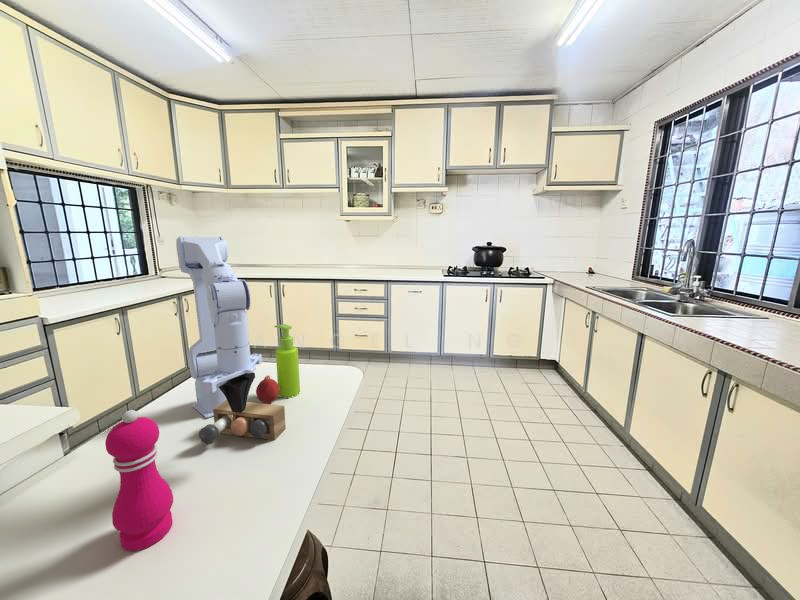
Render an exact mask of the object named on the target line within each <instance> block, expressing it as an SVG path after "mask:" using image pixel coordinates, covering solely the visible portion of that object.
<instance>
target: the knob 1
mask: <svg viewBox="0 0 800 600" xmlns="http://www.w3.org/2000/svg"><path fill="white" fill-rule="evenodd" d="M230 424H231V419H230V417H228V416H223V417H222V418H221V419H219V420H218V421H217V422H215V423H213V424H212V423H211V424H210V423H209V424H207V425H205V426H204V427H202V428H201V429H200V430H199V432H198V437H199V440H200V441H201V442H202V443H203V444H206V445H210V444H212V443H213V442H215V441H216V440H217V439H219V436H220V434H221V433H220V432H221V431H223V430H224V429H225V428H227V427H228V426H229V425H230Z"/></svg>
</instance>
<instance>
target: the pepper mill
mask: <svg viewBox="0 0 800 600" xmlns="http://www.w3.org/2000/svg"><path fill="white" fill-rule="evenodd" d="M121 420H122V421H121V422H118V423H117V424H116V425H115V426H113V427H112V428H111V429H110V431H109V432H108V433H107V436H106V439H105V445H104V446H105V450H106V452H107V454H108V455H110V456H111V457H113V459H112V463H113V465H114V466H113V468H114V470H115V471H117V472H119V477H120V478H119V479H120V482H119V483H120V485H119V491H118V493H117V497H116V500H115V502H114V504H113V509H112V513H111V515H112V516H111V518H112V519H111V520H112V525H113V527H114V529H116V531H118V532H119V540H120V546H121V547H122V549H124V550H125V551H129V552H136V551H141V550H144V549H147V548H149V547H152V546H154V545H155V544H156V543H158V542H159V541H160V540H162V539H164V538H165V536H166V535H167V534H168V533H169V532H170V530H171V528H172V527H173V524H174V523H173V516H172V515H173V514H172V511H171V508H172V507H173V503H174V495H173V490H172V489H171V487H170V485H169V484H168V482H166V480H165V479H164V478H163V477H162V476H161V474H160V472H159V471H158V468H157V465H156V459H157V458H158V455H159V451H158V445H156V443H157V442H158V440H159V438H160V428H159V426H158V424H157V423H156V421H154V420H153V419H151V418H150V417H146V416H145V417H144V416H140V417H139V414H138V412H137V410H135V409H134V410H133V409H130V410H127V411H125V412H124V413H122V416H121Z"/></svg>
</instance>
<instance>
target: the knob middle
mask: <svg viewBox="0 0 800 600" xmlns="http://www.w3.org/2000/svg"><path fill="white" fill-rule="evenodd" d="M250 425H251V417H246V416H244V417H238V418H237V419H236V420H234V421H233V422H232V423H231V430H232V432H233V433H234V434H235V436H240V437H242V436H241V435H243V434H244V433H246V432H247V431H248V430H249V427H250Z"/></svg>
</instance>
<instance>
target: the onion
mask: <svg viewBox="0 0 800 600" xmlns="http://www.w3.org/2000/svg"><path fill="white" fill-rule="evenodd" d="M279 391H280V388H279V385H278V381H276V380H274V379H273V378H271V376H270V375H268V374H267V375H265V377H264V379H262V380H260V382H259V383H258V384H257V386H256V389H255V393H256V398H257V399H258V400H259V401H260V403H261V402H262V404H272V403H273V402H274V401H275V400H276V399H277V398H278V397H279Z"/></svg>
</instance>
